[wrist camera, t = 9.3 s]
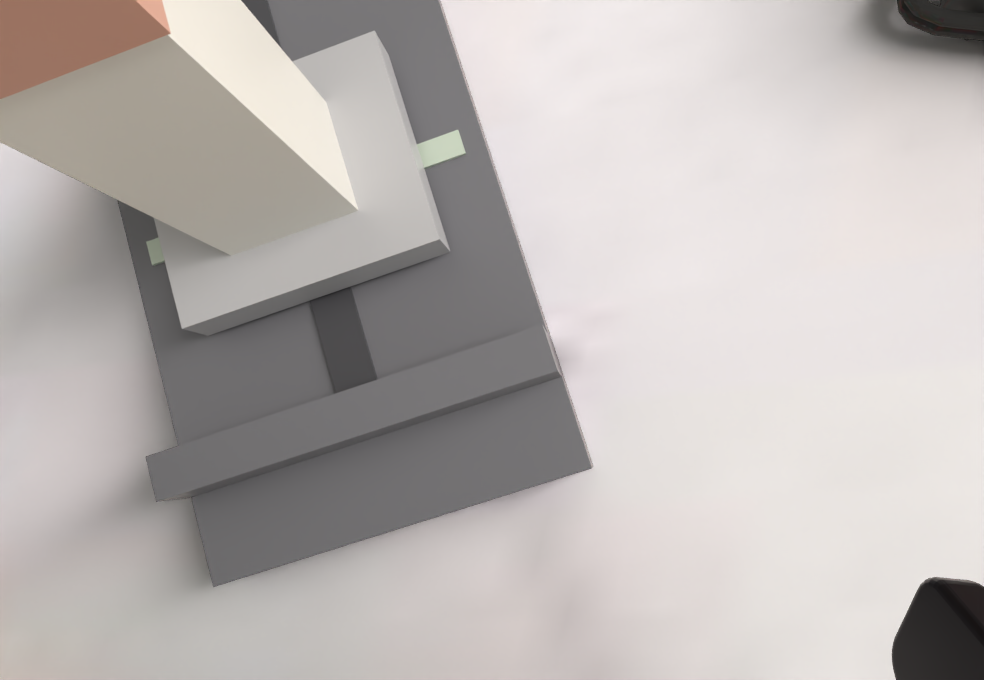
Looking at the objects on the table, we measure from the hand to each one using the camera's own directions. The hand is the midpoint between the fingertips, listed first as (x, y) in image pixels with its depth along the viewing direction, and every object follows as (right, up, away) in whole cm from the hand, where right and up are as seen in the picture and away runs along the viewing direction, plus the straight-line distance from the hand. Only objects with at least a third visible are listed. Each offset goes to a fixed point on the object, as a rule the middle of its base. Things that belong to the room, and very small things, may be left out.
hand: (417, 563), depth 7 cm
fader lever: (-4, +5, +12) cm, 14 cm away
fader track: (-4, +8, +14) cm, 17 cm away
